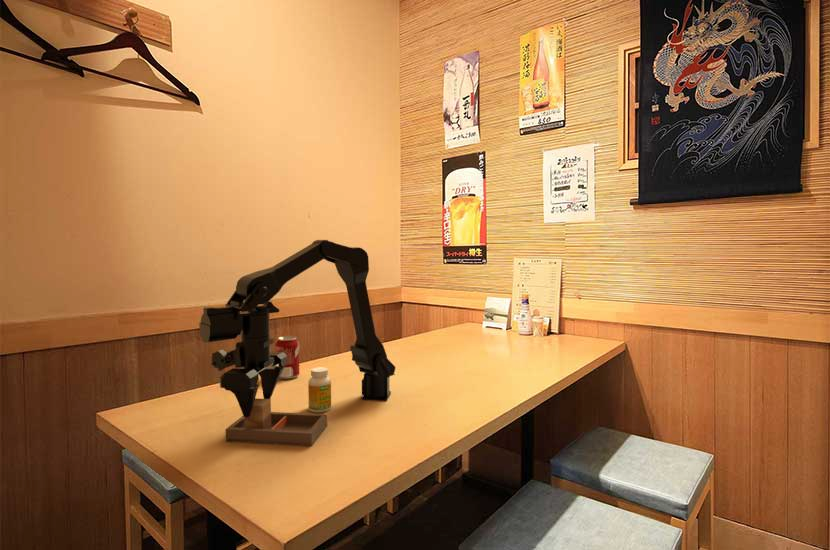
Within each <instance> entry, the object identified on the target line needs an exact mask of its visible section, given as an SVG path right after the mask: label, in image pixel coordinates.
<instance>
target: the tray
mask: <svg viewBox="0 0 830 550" xmlns="http://www.w3.org/2000/svg"><path fill="white" fill-rule="evenodd" d="M327 428H328V414H325V413H322V414H320V413H304V412H302V413H301V412H283V411H282V412H280V411H279V412H278V411H271V427H270V428H269V429H256V428H245V424H244V416H243V415H242V416H241V417H239V418H238V419H237V420H235V421H234V422H232V423H231V424H230V425H229V426H228V427H227V428H225V442H227V443H228V442H229V443H245V444H246V443H247V444H248V443H249V444H264V445H282V446H283V445H284V446H300V447H301V446H302V447H313V446H314V444H315V442H316V441H317V440H318V439H319V438H320V437H321V435H322V434H323V432H324V431H325V430H326V429H327Z"/></svg>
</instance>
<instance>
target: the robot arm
mask: <svg viewBox="0 0 830 550" xmlns="http://www.w3.org/2000/svg"><path fill="white" fill-rule="evenodd" d="M323 260H324V261H327V262H329V263H331V264H334V266H335V269H336V271H337V274H338V276H339V277H340V278H341V280H342V281H343V282H344V284H345V287H346V291H347V297H348V300H349V305H350V310H351V315H352V321H353V325H354V330H355V332H354V333H355V336H356V339H355V342H354V344H353V345H350V347H349V348H350V349H349V350H350V352H351V356H352V358H351V361H353V362H354V363H355V365H356V366H357V367H358V369H359V370H358V371H359V372H360V373H363V378H362V379H361V396H362V398H361V399H362V400H363V401H379V402H380V401H381V402H382V401H384V402H385V401H388V399H390V396H391V393H392V392H391V390H390V377H391V376H393V375H395V372H396V366H395V365H394V363H392V362H391V360H390V359H388V354H387V353H386V349H385V347H384V344H383V343H382V342H381V339H379V337H378V336H377V334H376V329H375V323H374V318H373V314H372V309H371V303H370V299H369V298H370V297H369V292H368V287H367V286H368V285H367V278H368V274H369V271H370V267H369V266H370V265H369V261H370V260H369V254H368V252H367V250H365V249H363V248H362V247H360V246H359V247H357V246H355V247H354V246H353V247H352V246H351V247H350V246H347V245H343V244H339V243H335V242H333V241H331V240H329V239H316V240H314V241H312V243H310V244H308V245H307V246H305V247H304V248H302V249H300V250H299V251H297V252H295V253H293V254H292V255H290V256H288V257H287V258H285V259H284V260H281V261H280V262H278V263H277V264H275V265H273V266H271V267H268V268H264V269H260V270H258V271H254V272H251V273H249V274H245V275H243V276H241V277H240V278H239V279H238V280H237V282H236V286H235V291H233V293H232V294H231V296H230V298H229V299H228V301H227V302H226V304H225V305H224V306H218V307H217V306H216V307H215V306H206V307H203V314H202V315H201V317H200V322H199V326H198V327H199V334H200V337H201V340H202V341H203V343H205V344H208V343H214V342H215V343H216V342H221V341H227V340H228V341H229V340H235V339H236V338H238V336H240V341H237V342H236V344H235V348H233V349H230V350H227V351H225V350H224V349H220V350H218V351H214V352H212V353H211V362H210V363H211V364H210V365H211V366H212V367H214V368H215V369H217V371H218V372H221V371H224V369H227V368H229V367H232V366H234V367H233V368H231V369H229V370H228V371H225V372H223V374H221V376H220V377H219V387H220V388H221V389H224V390H225V391H230V393H231V394H234V396H235V398H236V400H237V403H238V405H239V408H240V411H241V414H242V416H244V417H249V416H250V414H251V411H252V408H253V404H254V401H255V398H256V396H257V393H258V390H259V386H260V385H259V377H260V381H261V389H262V397H263V399H271V398H272V396H273V393H274V392H275V391H274V390H275V389H276V387H277V384H278V382H279V380H280V376H281V373H282V371H283V370H284V368H285V367H284V366H285V365H286V364H287V355H286V354H285V353H284V352H276V351H271V345H273V344H274V343H275V339H274V337H271V328H270V327H271V326H270V325H271V322H270V321H271V320H270V316H271V315H270V314H276V313H279V312H280V308H278V307H277V306H276V305H275V304H274V303H273V301H272V299H274V297H276V295H277V294H278V293H279V292H280V291H281V290H282V288H283V286H284V285H285V284H286V283H288V282H289V281H291V280H292V279H294V278H295V277H297V276H299V275H301V274H302V273H303V272H306V271H307V270H308V269H310V268H312V267H313V266H315V265H316V264H318V263H320V262H322V261H323Z"/></svg>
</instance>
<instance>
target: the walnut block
mask: <svg viewBox="0 0 830 550" xmlns="http://www.w3.org/2000/svg"><path fill="white" fill-rule="evenodd" d="M271 412H272V401H271V398H270V399H264V398H256V397H255V401H254V404H253V408H252V411H251V414H250V416H249V417H244V424H245V428H256V429H269V428H270V427H271Z"/></svg>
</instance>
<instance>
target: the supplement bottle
mask: <svg viewBox="0 0 830 550" xmlns="http://www.w3.org/2000/svg"><path fill="white" fill-rule="evenodd" d="M310 376H311V377H310V378H309V379H308V384H307V386H308V410H309V411H310V412H313V413H324V412H327V411H330V410H331V408H332V379H331V378H330V377H329V368H327V367H322V366H321V367H318V366H317V367H314V368H311V370H310Z"/></svg>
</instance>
